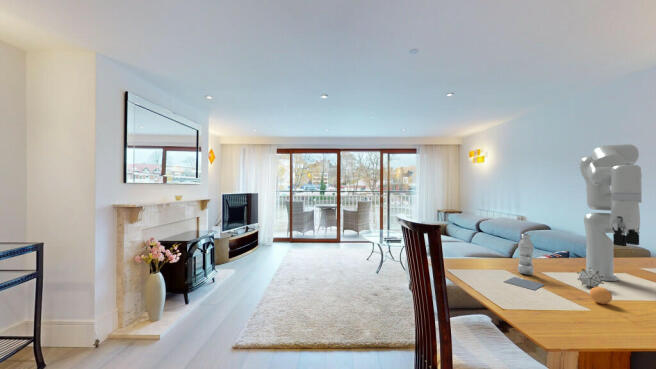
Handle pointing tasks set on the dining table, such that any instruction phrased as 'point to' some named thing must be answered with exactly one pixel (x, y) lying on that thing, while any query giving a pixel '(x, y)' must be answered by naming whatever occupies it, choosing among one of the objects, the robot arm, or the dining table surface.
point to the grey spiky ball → (590, 278)
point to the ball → (600, 295)
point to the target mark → (524, 283)
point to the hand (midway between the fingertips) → (626, 245)
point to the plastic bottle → (525, 255)
